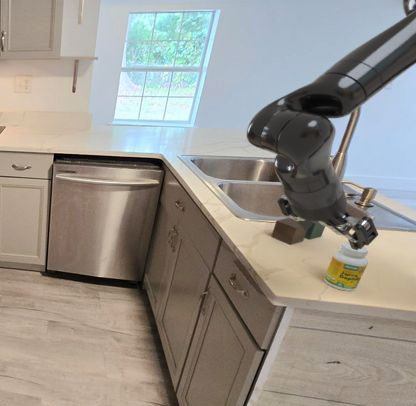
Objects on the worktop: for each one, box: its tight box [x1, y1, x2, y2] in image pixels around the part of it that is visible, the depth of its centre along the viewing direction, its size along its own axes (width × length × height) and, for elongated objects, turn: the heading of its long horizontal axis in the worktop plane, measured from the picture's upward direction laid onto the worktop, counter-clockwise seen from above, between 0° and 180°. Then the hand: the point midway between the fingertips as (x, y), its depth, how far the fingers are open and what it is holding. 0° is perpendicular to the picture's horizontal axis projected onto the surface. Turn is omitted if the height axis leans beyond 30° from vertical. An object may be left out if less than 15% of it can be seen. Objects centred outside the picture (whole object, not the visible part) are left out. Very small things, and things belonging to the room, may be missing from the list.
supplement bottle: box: [323, 242, 369, 292], centre depth 79 cm, size 5×5×10 cm
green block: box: [304, 221, 326, 240], centre depth 101 cm, size 5×5×5 cm
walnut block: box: [271, 217, 307, 246], centre depth 99 cm, size 5×5×5 cm
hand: (331, 235), depth 72 cm, fingers open, 8 cm apart
